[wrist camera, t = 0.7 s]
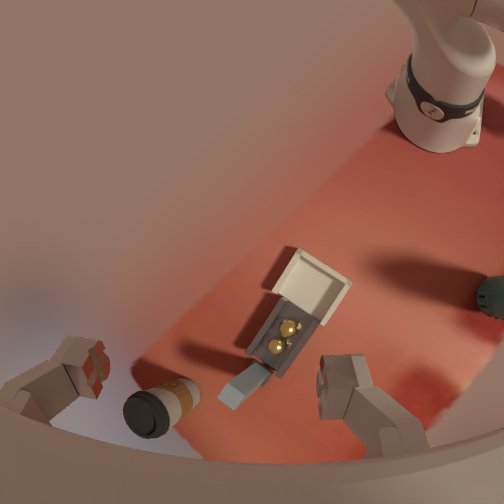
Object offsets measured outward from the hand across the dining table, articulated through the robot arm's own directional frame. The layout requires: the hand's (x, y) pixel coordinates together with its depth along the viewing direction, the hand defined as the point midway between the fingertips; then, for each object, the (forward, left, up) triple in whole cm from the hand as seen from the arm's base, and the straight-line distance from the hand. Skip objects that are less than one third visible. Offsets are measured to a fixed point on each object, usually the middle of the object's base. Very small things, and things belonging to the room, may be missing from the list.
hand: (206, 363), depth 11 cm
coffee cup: (+30, -11, -42) cm, 53 cm away
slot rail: (+9, -2, -42) cm, 43 cm away
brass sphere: (+11, -2, -41) cm, 43 cm away
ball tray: (0, -3, -42) cm, 42 cm away
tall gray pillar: (+17, -2, -42) cm, 46 cm away
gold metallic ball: (+7, -2, -41) cm, 42 cm away
